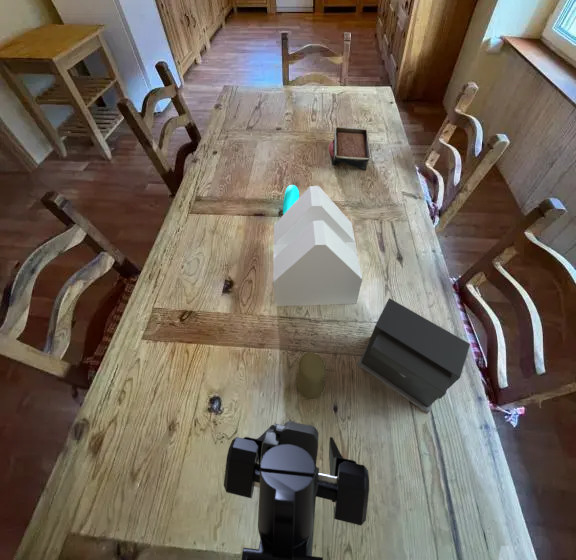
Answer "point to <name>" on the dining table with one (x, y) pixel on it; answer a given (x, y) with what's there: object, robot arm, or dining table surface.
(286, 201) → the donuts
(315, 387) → the cork
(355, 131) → the square planter box
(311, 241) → the white house shaped block
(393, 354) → the coffee maker
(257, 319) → the dining table surface
